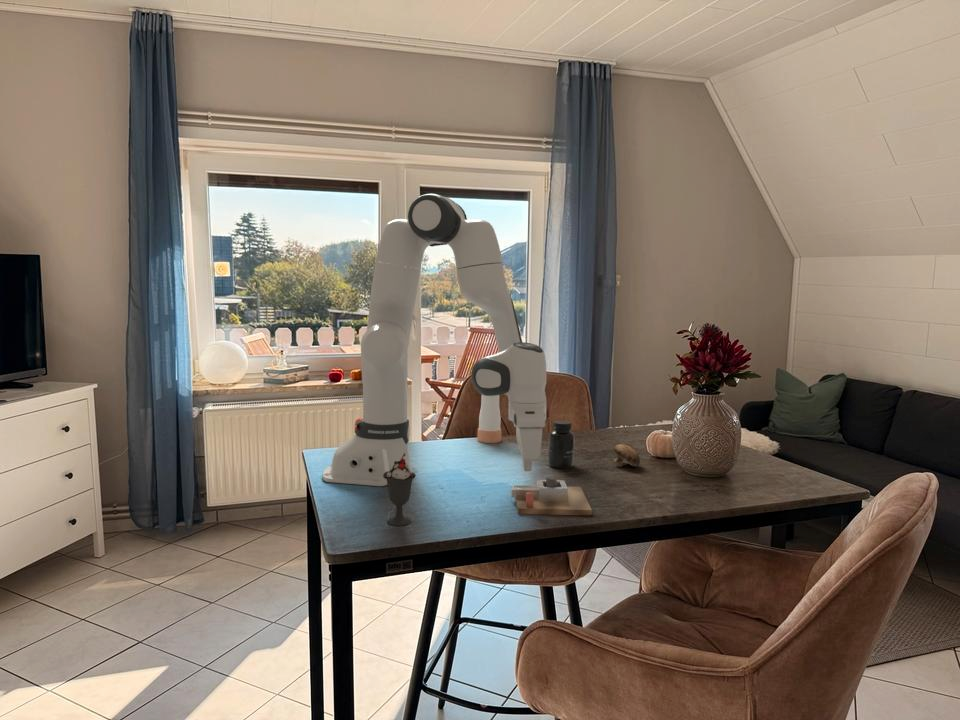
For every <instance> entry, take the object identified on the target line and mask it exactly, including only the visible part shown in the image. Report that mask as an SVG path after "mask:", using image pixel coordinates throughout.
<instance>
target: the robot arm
mask: <svg viewBox="0 0 960 720" xmlns="http://www.w3.org/2000/svg"><path fill="white" fill-rule="evenodd" d="M497 237H498V236H497V234H496V232H495V228H494V227H493V225H492V224H491V223H490V222H489V221H487V220H484V219H478V218H475V219H468V217H467V215H466V212H465V210H464V209H463V207H462V206H461V205H459V204H458V203H456V202H455V201H454V200H452V199H451V198H449V197H446V196H443V195H440V194H437V193H426V194H423V195H420V196H418V197H417V198H415V199H414V200H413V201H412V202H411V205H410V206H409V208H408V212H407V218H406V219H404V218H399V219H393V220H391V221H388V223H386V225H385V227H384V229H383V231H382V235H381V238H380V241H379V245H378V248H377V252H376V257H375V262H374V271H373V275H372V283H371V288H370V297H369V307H368V308H369V309H368V316H367V317H368V318H367V325H366V331H365V332H364V334H363V335H362V337H361V342H360V360H361V361H360V364H361V367H360V368H361V380H362V417H357V419H356V420H355V422H354V435H352V437H350V438H349V439H347V440H346V441H345V442H343V443H342V444H341V445H340V446H338V447H337V449H336V450H335V451H334V453H333V456H332V460H331V464H330V465H328V466H327V467H325V469H323V472H322V480H323V481H324V482H325V483H326V482H327V483H337V484H347V485H348V484H349V485H361V486H371V487H372V486H374V487H384V486H388V484H387V480H386V479H385V478H383V474H384V473H385V472H387V471H390V470H391V469H392V467H393V464H394V462H395V461H400V460H401V459H402V456H403V455H404V453H405V456H404V457H403V459H405V462H406V463H407V464H408V467H409V470H411V472H413V473H414V471H413V467H412V463H411V458H410V451H409V449H410V448H409V443H410V430H411V429H410V428H411V427H410V420H409V419H408V404H409V403H408V397H409V395H408V388H409V387H408V350H409V349H408V348H409V344H410V339H411V330H412V326H413V325H412V324H413V318H414V313H415V306H416V305H415V304H416V299H417V293H418V287H419V282H420V276H421V269H422V263H423V257H424V254H425V250H426V249H427V248H428V247H439V246H445V245H448V246H449V247H450V248H451V250H452V252H453V256H454V261H455V268H456V275H457V282H458V286H459V289H460V291H461V294H462V296H463V297H464V299H466V300H467V301H468V302H469V303H471V304H473V305H475V306H477V307H478V308H480V309H482V311H484V312H485V313H486V314H487V315H488V317H489V319H490V321H491V323H492V328H493V331H494V335H495V336H494V337H495V340H496V345H497V350H498V351H497V352H496V353H492V354H491V355H487V356H483V357H482V358H479V359H478V360H477V361H476V362H475V363H474V364H473V366H472V368H471V374H470V378H471V383H472V385H473V387H474V389H475V390H476V391H477V392H478V393H479V394H480V395H481V396H482V395H485V396H497V395H499V396H500V395H506V396H507V398H508V421H510V422H512V423H513V427H514V428H516V429H515V431H516V433H515V434H516V435H515V437H516V441H517V445H518V448H519V451H520V453H521V456H522V468H523V471H524V472H531V471H532V466H533V465H532V464H533V462H539V460H540V457H541V451H542V440H543V428H545V427H546V420H547V396H546V391H545V390H546V385H547V361H546V355H545V352H544V350H543V348H542V347H540V346H539V345H537V344H535V343H531V342H530V343H529V342H524V341H523V340H522V335H521V331H520V326H519V322H518V316H517V313H516V309H515V305H514V302H513V299H512V295H511V294H510V292H509V288H508V285H507V281H506V276H505V271H504V265H503V259H502V254H501V248H500V244H499V240H498V238H497Z"/></svg>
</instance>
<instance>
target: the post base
mask: <svg viewBox="0 0 960 720" xmlns="http://www.w3.org/2000/svg"><path fill="white" fill-rule="evenodd" d="M545 480H546V487H557V480H558V479H557V477H548V476H547V477H546V479H545ZM513 487H521V488H536V485H513ZM567 488H568V499H567V502H545V501H539V500H538V498H534V501H533V508H527V507H526V498H514V500H515V505H516V511H517V515H556V516H557V515H559V516H564V515H565V516H593V515H592V513H593V509H592V508H591V506H590V503H589V502H588V499H587V497H586V495H585V493H584V491H583V489H582V487H581V486H567Z"/></svg>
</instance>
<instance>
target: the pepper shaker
mask: <svg viewBox="0 0 960 720" xmlns="http://www.w3.org/2000/svg"><path fill="white" fill-rule="evenodd" d="M480 403H481V405H480V411H479V415H478V428H477V441H478V442H479V443H484V444H497V443H500V442H501V441H502V428H501V420H502V419H501V411H500V395H497V396H485V395H482V394H481V401H480Z"/></svg>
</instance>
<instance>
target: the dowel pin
mask: <svg viewBox="0 0 960 720" xmlns="http://www.w3.org/2000/svg"><path fill="white" fill-rule="evenodd" d="M533 501H534V493H532V492H528V493H526V507H527V508H533Z"/></svg>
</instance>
